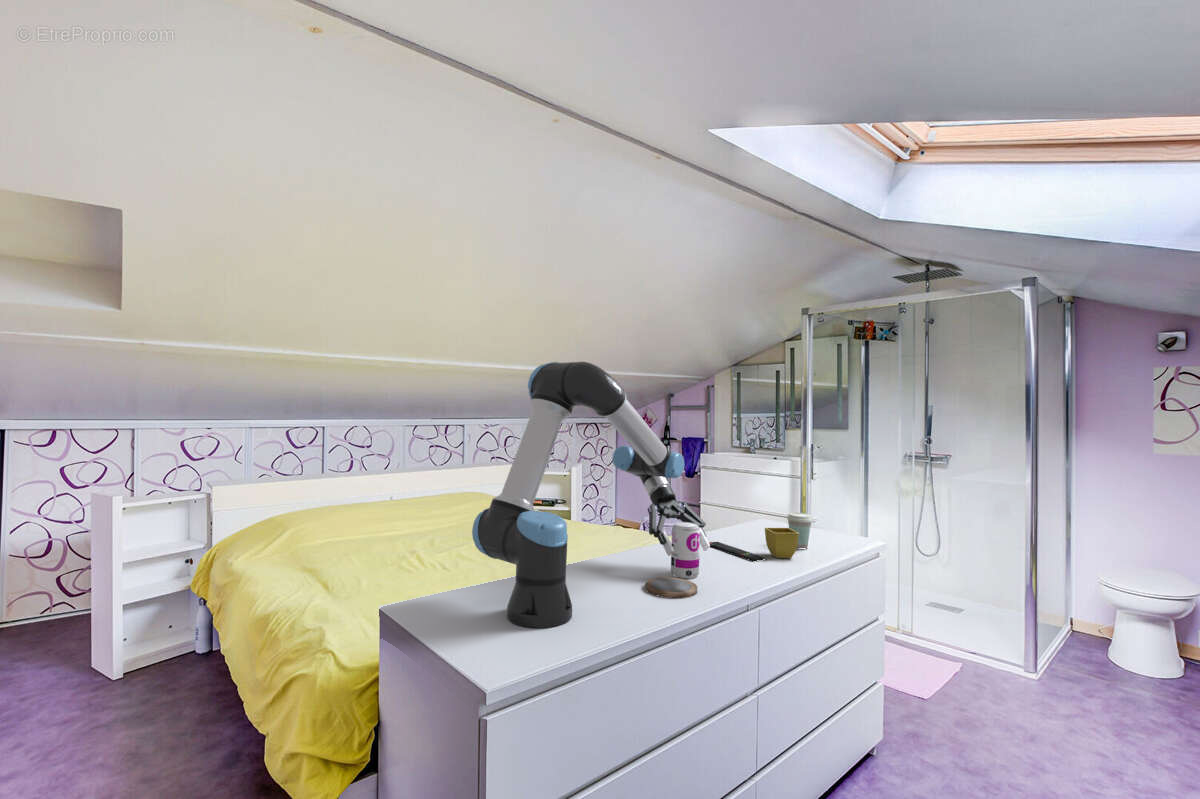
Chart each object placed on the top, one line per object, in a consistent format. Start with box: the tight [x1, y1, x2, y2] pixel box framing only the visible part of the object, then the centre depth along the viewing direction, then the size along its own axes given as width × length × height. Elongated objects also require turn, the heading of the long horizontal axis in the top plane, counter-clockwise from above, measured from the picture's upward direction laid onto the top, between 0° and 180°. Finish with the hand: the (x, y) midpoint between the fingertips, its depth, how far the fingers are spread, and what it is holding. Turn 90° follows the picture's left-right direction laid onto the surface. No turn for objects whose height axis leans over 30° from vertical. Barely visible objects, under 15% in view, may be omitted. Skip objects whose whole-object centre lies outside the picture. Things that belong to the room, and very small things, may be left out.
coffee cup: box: [786, 512, 813, 549], centre depth 208 cm, size 8×8×12 cm
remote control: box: [708, 541, 766, 562], centre depth 199 cm, size 5×24×1 cm, turn 29°
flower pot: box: [764, 527, 799, 559], centre depth 195 cm, size 9×9×9 cm
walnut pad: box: [644, 576, 698, 599], centre depth 156 cm, size 14×14×1 cm
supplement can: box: [670, 521, 701, 580], centre depth 170 cm, size 8×8×15 cm
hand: (689, 550), depth 169 cm, fingers open, 13 cm apart
